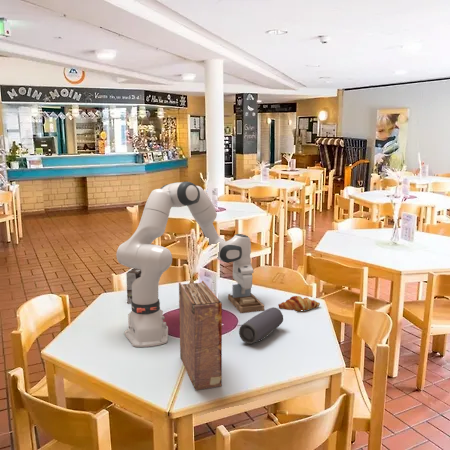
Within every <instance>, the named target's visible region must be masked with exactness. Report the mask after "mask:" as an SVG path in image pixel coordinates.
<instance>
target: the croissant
mask: <svg viewBox="0 0 450 450" xmlns="http://www.w3.org/2000/svg"><path fill="white" fill-rule="evenodd" d="M320 305H321V303H320V302H317V300H314V299H313V300H312V299H310V298H308V297H304V298H303V297H302V296H299V295H292V296H291V297H290V298H288V299H286V300H285V301H283V302H281V303H278V309H282V310H287V311H295V312H296V311H299V312H305V311H304V310H307V311H309V310H310V309H311V310H313V309H317V308H319V307H320ZM316 307H317V308H316ZM312 308H313V309H312ZM308 309H309V310H308ZM301 310H303V311H301Z"/></svg>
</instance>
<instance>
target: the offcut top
mask: <svg viewBox="0 0 450 450" xmlns="http://www.w3.org/2000/svg"><path fill="white" fill-rule="evenodd" d="M240 302H241V303H242V304H247V303H255V299H253V298H252V297H247V298H240Z"/></svg>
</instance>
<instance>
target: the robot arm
mask: <svg viewBox="0 0 450 450" xmlns="http://www.w3.org/2000/svg"><path fill="white" fill-rule="evenodd" d="M182 207H187V208H188V210H189V212H190V214H191V215H192V218H193V219H194V220H195V222H196V223H197V225H198V226H199V227H200V230H201V232H202V234H203V236H204V238H205V237H207V238H209V245H211V244H217V243H218V242H220V243H219V252H218V257H217V258H216V259H217V260H219V261H221V262H223V263H232V279H233V280H234V281H235V282H236V283H237V284H240V285H241V288H242V289H241V294H245V290H246V289H251V290H252V288H253V274H254V268H253V266H252V261H251V260H252V259H251V253H252V243H251V238H250V237H249V236H248V235H246V234H243V233H241V234H240V233H236V234H234V236H233V237H231V238H229V240H224V239H223V238H222V237H220V236H219V234H218V231H217V229H216V228H215V225H214V222H215V220H216V219H217V211H216V208H215V205H214V203H213V202H212V200H211V198H210V197H209V194H207V192H206V191H205V190H204V189H203V188H202V186H199V185H196V184H195V183H193V182H192V181H181V182H173V183H169V184H164V185H162V187H160V188H155V189H153V190H151V192H150V194H149V195H148V198H147V200H146V202H145V205H144V207H143V211H142V215H141V218H140V220H139V224H138V226H137V228H136V230H135V231H134V232H133V234H132V235H131V237H129V238H128V239H127V240H126V241H124V242H122V243H121V244H119V245H118V248H117V250H116V253H115V256H116V259H117V262H118V264H120V265H122V266H125V267H126V268H131V269H133V268H136V269H141V277H139V278H137V279H136V280H135V281H134V282H133V284H132V301H131V303H130V307H131V308H130V309H131V311H130V312H129V313H128V315H127V317H128V318H127V321H128V324H127V325H128V326H127V328H128V329H126V330H124V333H123V334H124V336H126V338H127V340H129V343H131V345H132V346H133V347H134V348H146V347H147V348H148V347H156V346H160V345H164V344H166V343H167V344H168V337H169V336H168V335H169V327H168V325H167V322H166V321H164V320H166V319H165V316H164V314H163V313H164V311H163V310H162V309H161V302H160V298H159V285H160V283H159V282H160V280H161V277H162V275H163V274H164V272H166V271H167V270H168V269H169V268H170V267H171V265H172V263H173V254H172V252H171V250H170V249H169V248H167V247H165V246H162V245H159V244H153V242H154V241H155V240H156V239H158V238H160V237H162V236H163V235H164V233H165V232H166V227H167V225H168V224H167V223H168V220H169V217H170V212H171V209H172V208H182Z"/></svg>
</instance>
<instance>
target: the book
mask: <svg viewBox="0 0 450 450" xmlns="http://www.w3.org/2000/svg"><path fill="white" fill-rule="evenodd" d="M178 302H179V303H178V306H179V307H178V308H179V353H180V355H179V356H180V360H181V362H182V364H183V366H184V369H185V371H186V374H187V375H188V378H189V379H190V382H191V384H192V386H193V388H194V391H200V390H205V389H206V390H207V389H212V388H218V387H219V388H220V387H222V381H223V380H222V378H223V377H222V374H223V373H222V370H223V369H222V367H223V366H222V363H223V360H222V359H223V358H222V356H223V354H222V353H223V352H222V351H223V349H222V347H223V346H222V345H223V344H222V343H223V342H222V341H223V339H222V337H223V335H222V334H223V333H222V332H223V330H222V329H223V327H222V326H223V303H222V302H221V301H220V299H219V298H218V296H216V294H215V293H214V292H213V290H212V289H211V288H210V287H209V286H208V285H207V283H206V282H205V281H204V280H201V282H195V283H194V282H193V283H185V284H184V283H183V284H182V283H181V282H178Z"/></svg>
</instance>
